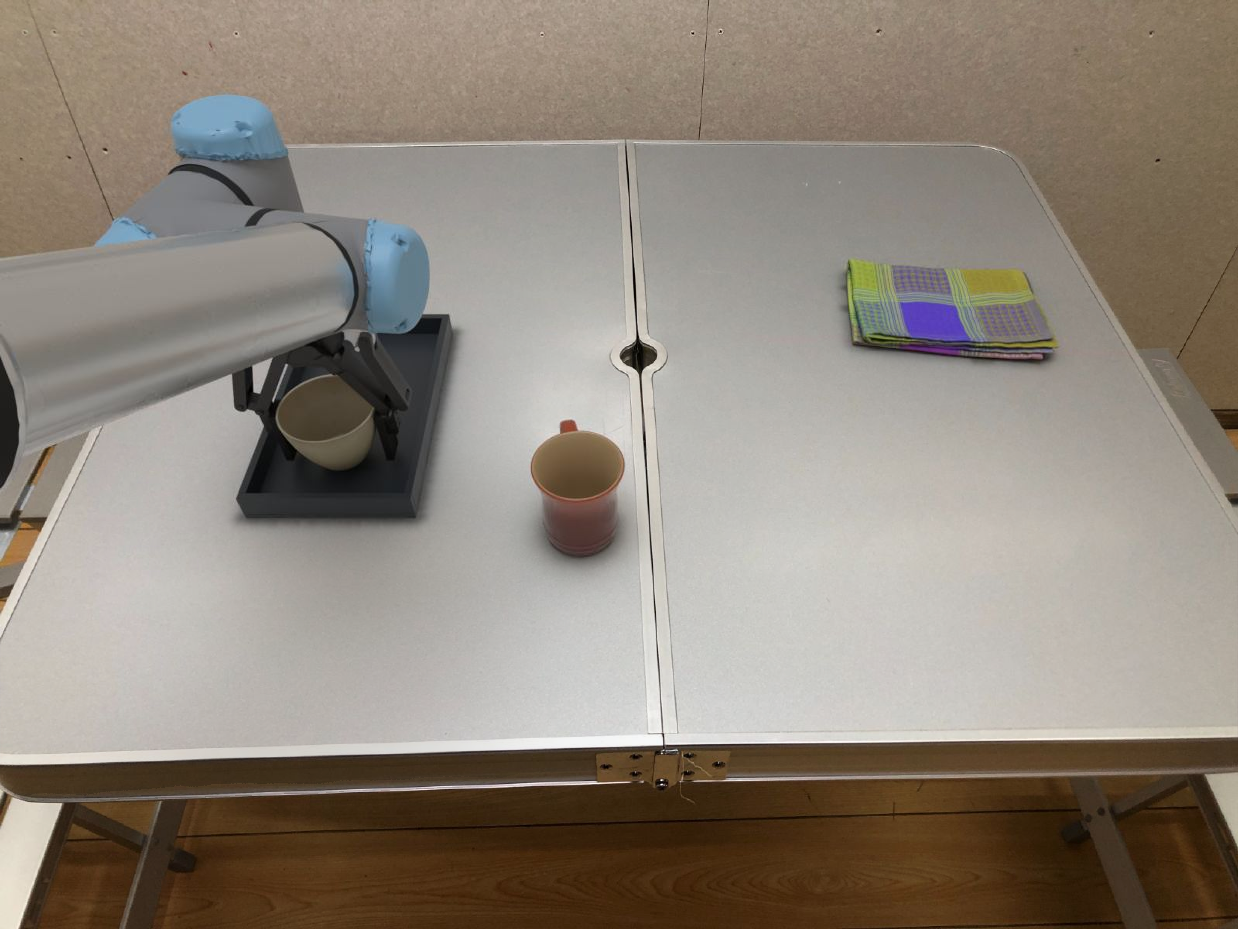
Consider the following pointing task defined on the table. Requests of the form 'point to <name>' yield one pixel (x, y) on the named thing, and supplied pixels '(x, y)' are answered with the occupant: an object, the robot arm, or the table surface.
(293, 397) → the flower pot
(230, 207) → the robot arm
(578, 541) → the mug
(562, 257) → the table surface
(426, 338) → the tray
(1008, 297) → the dish towel
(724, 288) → the table surface
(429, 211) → the table surface
